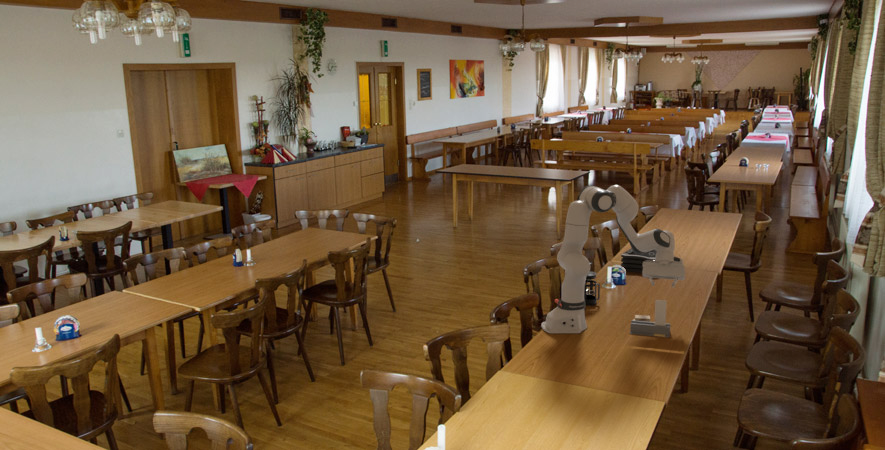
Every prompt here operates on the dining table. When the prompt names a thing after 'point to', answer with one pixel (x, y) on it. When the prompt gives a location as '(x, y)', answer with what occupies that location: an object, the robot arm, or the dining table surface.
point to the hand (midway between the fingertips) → (662, 285)
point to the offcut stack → (642, 318)
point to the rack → (649, 329)
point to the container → (636, 260)
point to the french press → (591, 289)
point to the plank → (660, 312)
